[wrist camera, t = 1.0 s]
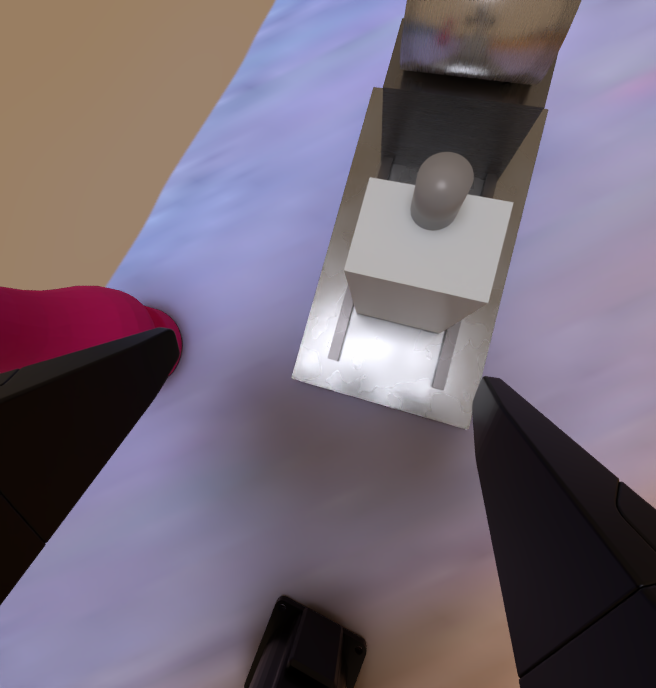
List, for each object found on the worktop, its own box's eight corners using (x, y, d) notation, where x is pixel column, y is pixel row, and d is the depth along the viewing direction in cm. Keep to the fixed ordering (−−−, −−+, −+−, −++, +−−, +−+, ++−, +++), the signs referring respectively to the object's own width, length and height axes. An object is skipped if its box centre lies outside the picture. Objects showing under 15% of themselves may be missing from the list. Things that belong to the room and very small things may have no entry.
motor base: (463, 427, 21) (563, 487, 10) (295, 378, 23) (220, 381, 12) (539, 123, 23) (707, -134, 11) (373, 101, 25) (372, -137, 13)
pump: (439, 333, 21) (510, 289, 10) (356, 312, 22) (338, 251, 11) (455, 273, 21) (541, 165, 10) (372, 255, 22) (369, 139, 11)
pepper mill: (164, 285, 26) (-528, -7, 6) (204, 363, 25) (-484, 317, 5) (92, 332, 26) (-760, 206, 7) (128, 410, 25) (-768, 541, 5)
